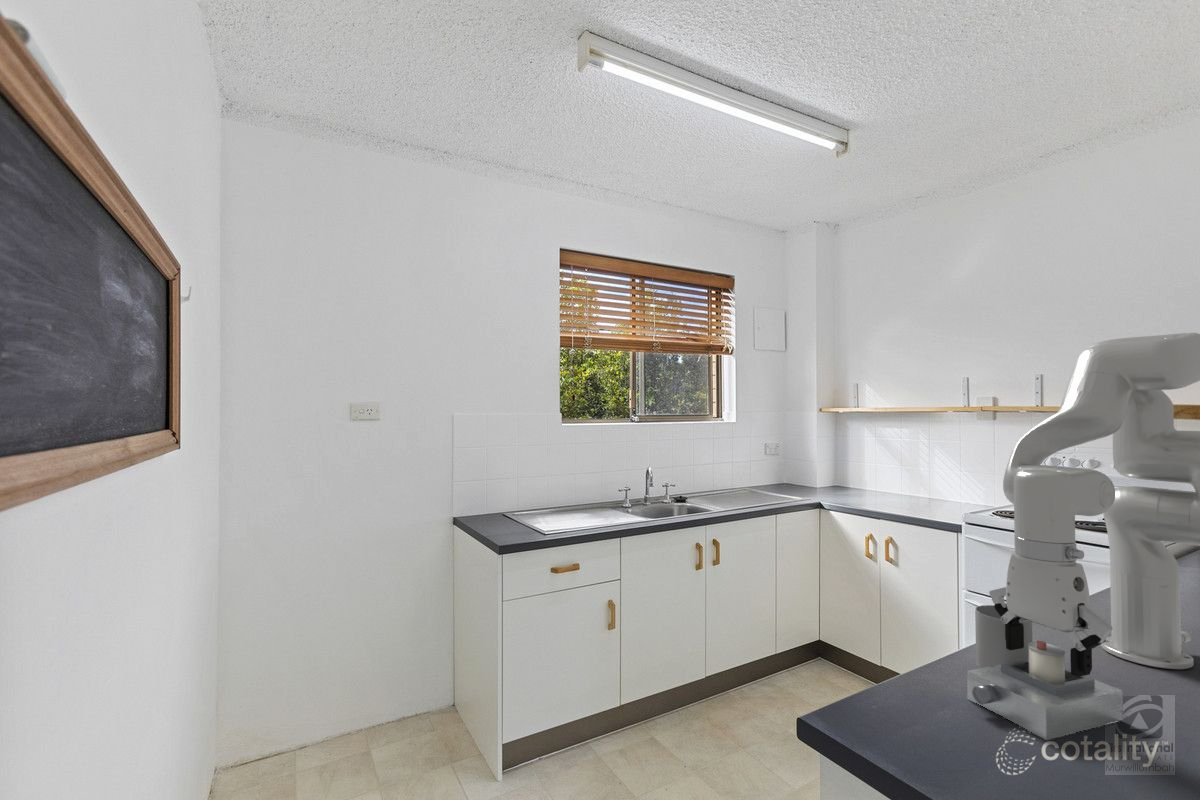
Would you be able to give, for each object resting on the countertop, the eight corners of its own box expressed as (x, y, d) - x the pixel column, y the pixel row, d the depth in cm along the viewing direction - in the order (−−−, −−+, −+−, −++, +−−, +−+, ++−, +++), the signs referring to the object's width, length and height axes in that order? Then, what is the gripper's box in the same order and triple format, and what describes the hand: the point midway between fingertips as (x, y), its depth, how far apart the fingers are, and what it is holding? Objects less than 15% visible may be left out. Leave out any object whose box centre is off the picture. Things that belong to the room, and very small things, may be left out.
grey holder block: (1039, 684, 96) (1038, 650, 96) (1123, 721, 85) (1122, 682, 85) (956, 701, 90) (955, 665, 90) (1034, 743, 79) (1033, 701, 79)
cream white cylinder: (1041, 689, 91) (1041, 634, 91) (1072, 703, 87) (1072, 645, 87) (1021, 694, 90) (1020, 637, 90) (1052, 708, 85) (1051, 649, 86)
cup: (1043, 682, 97) (1042, 623, 97) (989, 678, 98) (988, 619, 99) (1017, 661, 105) (1016, 606, 105) (968, 657, 107) (967, 603, 107)
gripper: (1126, 562, 82) (1128, 683, 81) (1007, 536, 98) (1008, 637, 98) (1090, 566, 79) (1092, 690, 79) (974, 539, 96) (975, 642, 95)
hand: (1046, 661), depth 88 cm, fingers open, 9 cm apart
